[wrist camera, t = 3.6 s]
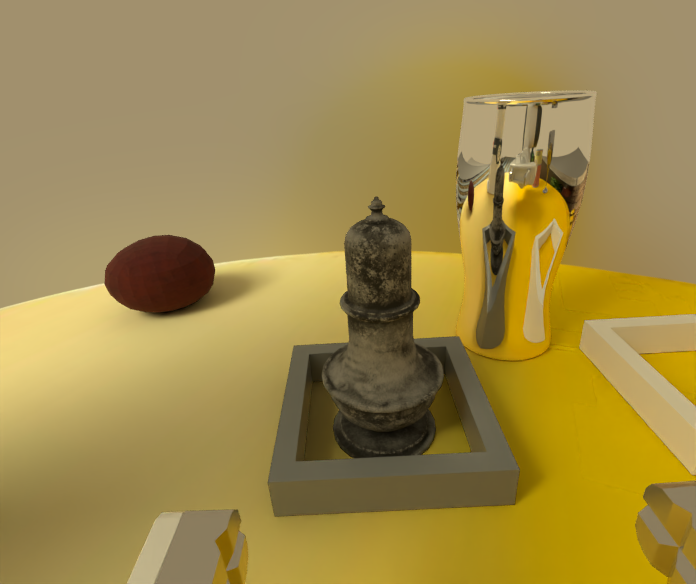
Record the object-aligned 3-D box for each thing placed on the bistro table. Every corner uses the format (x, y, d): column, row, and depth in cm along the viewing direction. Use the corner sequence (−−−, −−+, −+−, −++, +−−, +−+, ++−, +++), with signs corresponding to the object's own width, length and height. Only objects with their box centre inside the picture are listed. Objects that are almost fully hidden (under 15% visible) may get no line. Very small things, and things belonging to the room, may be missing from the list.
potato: (131, 292, 40) (112, 230, 37) (223, 280, 41) (210, 219, 39) (107, 332, 33) (81, 260, 31) (216, 317, 35) (201, 246, 32)
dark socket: (274, 516, 18) (267, 482, 17) (297, 372, 27) (293, 345, 26) (514, 504, 18) (519, 469, 17) (457, 363, 27) (459, 336, 26)
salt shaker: (306, 447, 22) (273, 210, 16) (357, 379, 26) (344, 178, 21) (420, 488, 19) (424, 223, 14) (454, 405, 24) (467, 183, 18)
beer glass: (564, 372, 26) (617, 93, 19) (444, 358, 28) (455, 101, 21) (550, 315, 32) (587, 88, 25) (452, 308, 34) (463, 95, 27)
